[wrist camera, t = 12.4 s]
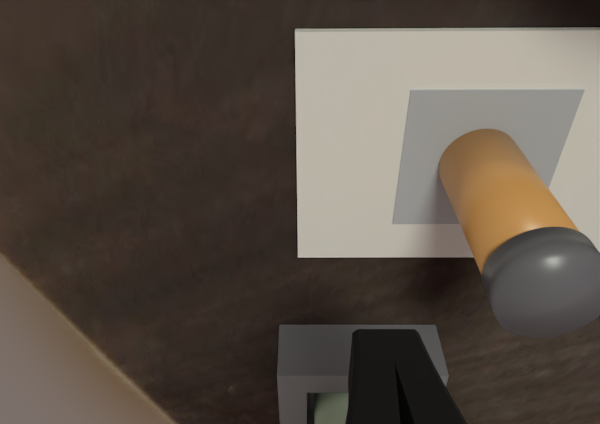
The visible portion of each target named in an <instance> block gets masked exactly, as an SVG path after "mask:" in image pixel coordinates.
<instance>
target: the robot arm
mask: <svg viewBox="0 0 600 424" xmlns="http://www.w3.org/2000/svg"><path fill="white" fill-rule="evenodd" d="M345 424H467V423H466V421H465V419H464V418H463V416H462V414H461V413H460V411H459V409H458V408H457V406H456V404H455V403H454V401H453V399H452V397H451V396H450V394H449V392H448V390H447V388H446V387H445V385H444V383H443V381H442V379H441V377H440V375H439V374H438V372H437V370H436V368H435V366H434V364H433V362H432V360H431V358H430V356H429V354H428V352H427V350H426V347H425V345H424V343H423V341H422V339H421V336H420V334H419V332H418V331H416V330H415V329H357V330H356V331H354V332H352V343H351V354H350V365H349V376H348V411H347V416H346V422H345Z"/></svg>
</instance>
